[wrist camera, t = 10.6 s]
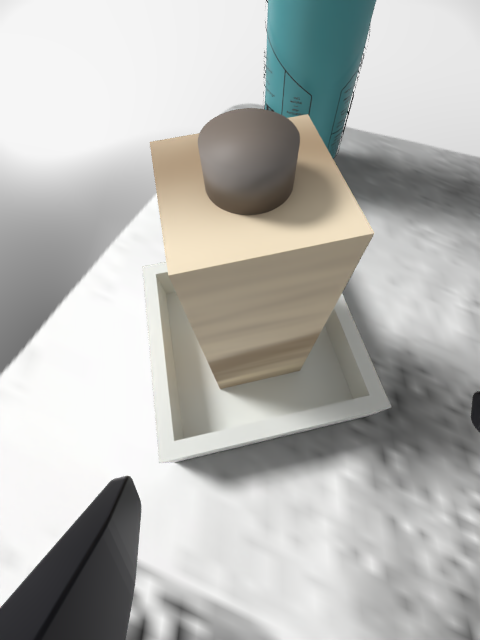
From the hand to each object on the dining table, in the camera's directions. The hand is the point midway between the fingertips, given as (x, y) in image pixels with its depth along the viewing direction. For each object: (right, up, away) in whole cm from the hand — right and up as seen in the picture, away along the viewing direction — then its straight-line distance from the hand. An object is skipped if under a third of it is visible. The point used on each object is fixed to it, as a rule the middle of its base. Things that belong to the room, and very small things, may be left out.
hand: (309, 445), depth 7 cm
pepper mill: (-1, +2, +11) cm, 12 cm away
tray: (-1, +1, +12) cm, 12 cm away
